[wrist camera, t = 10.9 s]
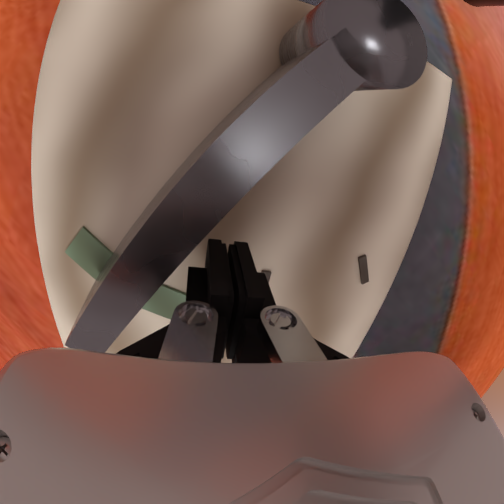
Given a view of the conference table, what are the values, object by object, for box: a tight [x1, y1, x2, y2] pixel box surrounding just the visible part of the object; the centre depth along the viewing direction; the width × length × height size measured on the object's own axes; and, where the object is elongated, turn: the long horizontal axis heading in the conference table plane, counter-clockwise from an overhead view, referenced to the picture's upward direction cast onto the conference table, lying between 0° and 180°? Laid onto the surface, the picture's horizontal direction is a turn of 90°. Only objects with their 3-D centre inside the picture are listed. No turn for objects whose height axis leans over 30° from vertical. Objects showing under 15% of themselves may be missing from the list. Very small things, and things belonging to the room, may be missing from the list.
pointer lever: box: [65, 0, 427, 352], centre depth 9 cm, size 17×4×5 cm, turn 134°
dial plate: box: [31, 0, 452, 363], centre depth 14 cm, size 22×22×2 cm
